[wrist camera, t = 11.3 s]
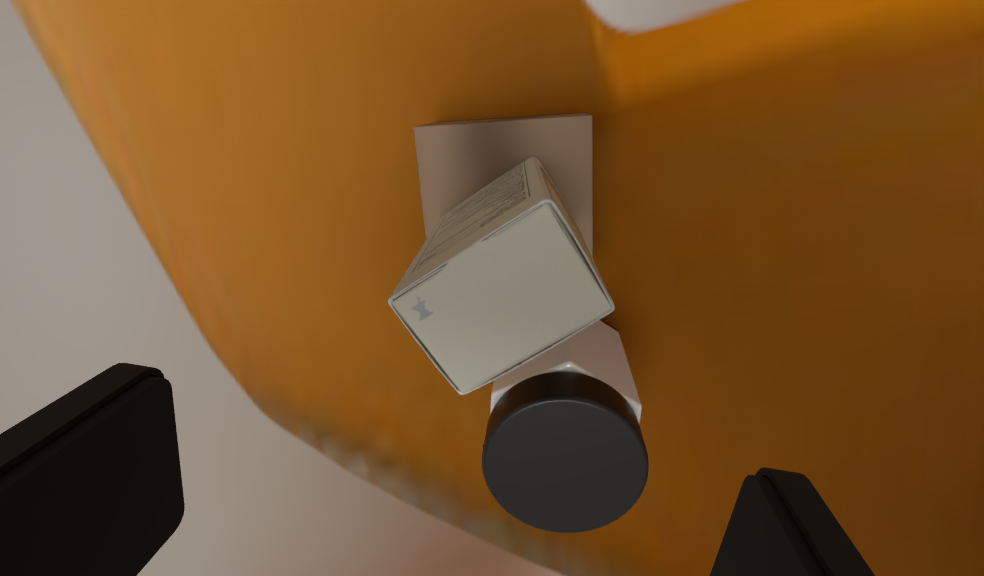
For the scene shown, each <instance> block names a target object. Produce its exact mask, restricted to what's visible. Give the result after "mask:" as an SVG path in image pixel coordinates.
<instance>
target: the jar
mask: <svg viewBox="0 0 984 576" xmlns="http://www.w3.org/2000/svg"><path fill="white" fill-rule="evenodd" d="M641 411H642V405H641V402H640V399H639V396H638V393H637V389H636V386H635V383H634V380H633V377H632V373H631V370H630V367H629V364H628V361H627V357H626V354H625V351H624V348H623V345H622V341H621V338H620V335H619V333H618V332H617V331H616V330H614V329H613V328H611V327H610V326H608V325H607V324H605V323H603V322H602V321H600V320H598V321H596V322H595V323H593V324H592V325H590V326H589V327H587V328H585V329H583V330H582V331H580V332H578V333H577V334H575V335H574V336H572V337H570V338H568V339H567V340H565V341H563V342H562V343H560V344H558V345H556V346H555V347H553V348H551V349H550V350H548V351H546V352H544V353H543V354H541V355H539V356H537V357H536V358H534V359H532V360H530V361H528V362H527V363H525V364H523V365H522V366H520V367H518V368H516V369H514V370H513V371H511V372H509V373H507V374H505V375H503V376H501V377H500V378H498V379H496V380H494V382H493V387H492V392H491V407H490V417H489V421H488V425H487V431H486V436H485V442H484V444H483V453H482V469H483V475H484V479H485V482H486V484H487V486H488V489H489V491H490V492H491V494H492V496H493V497H494V498H495V500H496V501H497V502H498V503H499V504H500V505H501V507H502V508H504V509H505V510H506V511H507V512H508V513H509V514H511V515H512V516H513V517H515V518H516V519H518V520H520V521H522V522H524V523H525V524H528V525H530V526H532V527H535V528H538V529H542V530H546V531H551V532H559V533H577V532H585V531H589V530H594V529H597V528H600V527H603V526H605V525H607V524H609V523H611V522H613V521H615V520H616V519H618V518H620V517H621V516H622V515H624V514H625V513H626V512H627V511H628V510H629V509H630V508H631V507H632V506H633V505H634V504H635V503H636V501H637V500H638V498H639V497H640V495H641V493H642V491H643V489H644V487H645V484H646V481H647V476H648V455H647V450H646V447H645V443H644V440H643V436H642V433H641V429H640V426H639V424H640V417H641Z"/></svg>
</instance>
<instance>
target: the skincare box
mask: <svg viewBox="0 0 984 576" xmlns="http://www.w3.org/2000/svg"><path fill="white" fill-rule="evenodd" d="M388 304H389V305H390V307H391V308H392V309H393V311H394V312H395V313H396V314H397V316H398V317H399V318H400V320H401V321H402V323H403V324H404V326H405V327H406V328H407V329H408V330H409V332H410V333H411V335H412V336H413V338H414V339H415V340H416V341H417V343H418V344H419V345H420V347H421V348H422V349H423V351H424V352H425V353H426V355H427V356H428V357H429V358H430V360H431V361H432V362H433V364H434V365H435V366H436V367H437V369H438V370H439V371H440V372H441V374H442V375H443V376H444V377H445V378H446V379H447V380H448V381H449V383H450V384H451V385H452V386H453V388H454V389H455V390H456V391H457V392H458V393H459V394H460V395H465V394H468V393H470V392H472V391H474V390H476V389H478V388H480V387H482V386H484V385H486V384H488V383H490V382H492V381H494V380H496V379H498V378H500V377H501V376H503V375H505V374H507V373H509V372H511V371H513V370H514V369H516V368H518V367H520V366H522V365H523V364H525V363H527V362H528V361H530V360H532V359H534V358H536V357H537V356H539V355H541V354H543V353H544V352H546V351H548V350H550V349H551V348H553V347H555V346H556V345H558V344H560V343H562V342H563V341H565V340H567V339H568V338H570V337H572V336H574V335H575V334H577V333H578V332H580V331H582V330H583V329H585V328H587V327H589V326H590V325H592V324H593V323H595V322H596V321H598V320H600V319H601V318H603V317H605V316H606V315H608V314H610V313H611V312H613V311H614V310H615V306H614V303H613V300H612V298H611V297H610V295H609V292H608V290H607V288H606V286H605V284H604V282H603V280H602V277H601V275H600V273H599V271H598V269H597V266H596V264H595V262H594V260H593V258H592V256H591V254H590V252H589V249H588V247H587V245H586V243H585V241H584V239H583V236H582V234H581V232H580V230H579V228H578V226H577V224H576V221H575V220H574V218H573V216H572V214H571V213H570V211H569V209H568V207H567V206H566V204H565V202H564V200H563V199H562V197H561V195H560V194H559V192H558V190H557V189H556V187H555V185H554V183H553V182H552V180H551V179H550V177H549V175H548V174H547V172H546V171H545V169H544V167H543V166H542V164H541V163H540V161H539V159H538V158H536V157H531V158H529V159H527V160H526V161H524V162H522V163H521V164H519V165H517V166H516V167H514V168H513V169H511V170H510V171H508V172H506V173H505V174H503V175H502V176H500V177H499V178H497V179H496V180H494V181H493V182H491V183H490V184H488V185H487V186H485V187H484V188H482V189H481V190H479V191H478V192H476V193H475V194H473V195H472V196H470V197H469V198H467V199H466V200H465V201H463V202H462V203H460V204H459V205H457V206H456V207H455V208H453V209H452V210H450V211H449V212H448V213H446V214H445V215H443V216H442V217H441V218H440V219H439V220H438V222H437V224H436V225H435V227H434V228H433V230H432V232H431V233H430V235H429V236H428V238H427V239H426V241H425V243H424V244H423V246H422V247H421V249H420V250H419V252H418V254H417V255H416V257H415V258H414V260H413V261H412V263H411V264H410V266H409V268H408V269H407V271H406V272H405V274H404V275H403V277H402V279H401V280H400V282H399V283H398V285H397V286H396V288H395V290H394V291H393V293H392V295H391V296H390V297H389V299H388Z"/></svg>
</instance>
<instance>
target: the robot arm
mask: <svg viewBox="0 0 984 576" xmlns="http://www.w3.org/2000/svg"><path fill="white" fill-rule="evenodd" d="M183 514H184V497H183V488H182V478H181V470H180V461H179V450H178V441H177V432H176V423H175V413H174V404H173V395H172V387H171V384H170V382H169V381H168V380H167V379H164V375H163V373H162V372H161V371H160V370H159V369H157V368H152V367H146V366H140V365H134V364H128V363H118V364H116V365H113V366H112V367H110V368H108V369H107V370H105V371H103V372H102V373H100V374H98V375H97V376H95V377H93V378H92V379H90V380H89V381H87V382H85V383H84V384H82V385H80V386H79V387H77V388H75V389H74V390H72V391H70V392H69V393H68V394H66V395H64V396H62V397H61V398H59V399H57V400H56V401H54V402H52V403H51V404H49V405H48V406H46V407H44V408H43V409H41V410H39V411H38V412H36V413H34V414H33V415H31V416H29V417H28V418H26V419H25V420H23V421H21V422H20V423H18V424H16V425H15V426H13V427H11V428H10V429H8V430H6V431H5V432H3V433H1V434H0V576H137V574H138V573H139V572H140V571H141V570H142V569H143V567H144V566H145V565H146V564H147V563H148V562H149V561H150V559H151V558H152V557H153V556H154V555H155V554H156V552H157V551H158V550H159V549H160V548H161V547H162V545H163V544H164V543H165V542H166V541H167V540H168V539H169V537H170V536H171V535H172V534H173V533H174V532H175V530H176V529H177V527H178V526H179V524H180V522H181V520H182V517H183ZM710 576H875V575H874V574H873V572H872V571H871V569H870V568H869V566H868V565H867V564H866V562H865V561H864V559H863V558H862V556H861V555H860V553H859V552H858V550H857V549H856V547H855V546H854V545H853V543H852V542H851V540H850V539H849V537H848V536H847V534H846V533H845V531H844V530H843V529H842V527H841V526H840V524H839V523H838V521H837V520H836V518H835V517H834V515H833V514H832V513H831V511H830V510H829V508H828V507H827V505H826V504H825V502H824V501H823V499H822V498H821V496H820V495H819V494H818V492H817V491H816V489H815V488H814V486H813V485H812V483H811V482H810V480H809V479H808V478H807V477H806V476H805V475H803V474H800V473H795V472H789V471H783V470H777V469H771V468H761V469H760V470H759V471H758V472H757V473H756V475H755V476H754V475H749V476H747V477H746V478H745V480H744V482H743V484H742V487H741V490H740V493H739V495H738V498H737V501H736V504H735V507H734V509H733V512H732V515H731V518H730V521H729V523H728V526H727V529H726V532H725V535H724V537H723V540H722V543H721V546H720V549H719V551H718V554H717V557H716V560H715V563H714V565H713V568H712V571H711V574H710Z"/></svg>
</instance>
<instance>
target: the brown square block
mask: <svg viewBox="0 0 984 576" xmlns="http://www.w3.org/2000/svg"><path fill="white" fill-rule="evenodd" d="M414 136H415V145H416V154H417V163H418V172H419V181H420V190H421V199H422V208H423V217H424V226H425V235H426V239H427V238H428V236H429V235H430V233H431V232H432V230H433V228H434V227H435V225H436V224H437V222H438V220H439V219H440V218H441V217H442V216H443V215H445V214H446V213H448V212H449V211H450V210H452V209H453V208H455V207H456V206H457V205H459V204H460V203H462V202H463V201H465V200H466V199H467V198H469V197H470V196H472V195H473V194H475V193H476V192H478V191H479V190H481V189H482V188H484V187H485V186H487V185H488V184H490V183H491V182H493V181H494V180H496V179H497V178H499V177H500V176H502V175H503V174H505V173H506V172H508V171H510V170H511V169H513V168H514V167H516V166H517V165H519V164H521V163H522V162H524V161H526V160H527V159H529V158H531V157H536V158H538V159H539V161H540V163H541V164H542V166H543V167H544V169H545V171H546V172H547V174H548V175H549V177H550V179H551V180H552V182H553V183H554V185H555V187H556V189H557V190H558V192H559V194H560V195H561V197H562V199H563V200H564V202H565V204H566V206H567V207H568V209H569V211H570V213H571V214H572V216H573V218H574V220H575V221H576V224H577V226H578V228H579V230H580V232H581V234H582V236H583V239H584V241H585V243H586V245H587V247H588V249H589V252H590V254H591V256H592V258H593V224H592V115H590V114H587V113H570V114H555V115H540V116H525V117H510V118H495V119H480V120H465V121H450V122H436V123H431V124H426V125H421V126H417V127H414Z"/></svg>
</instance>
